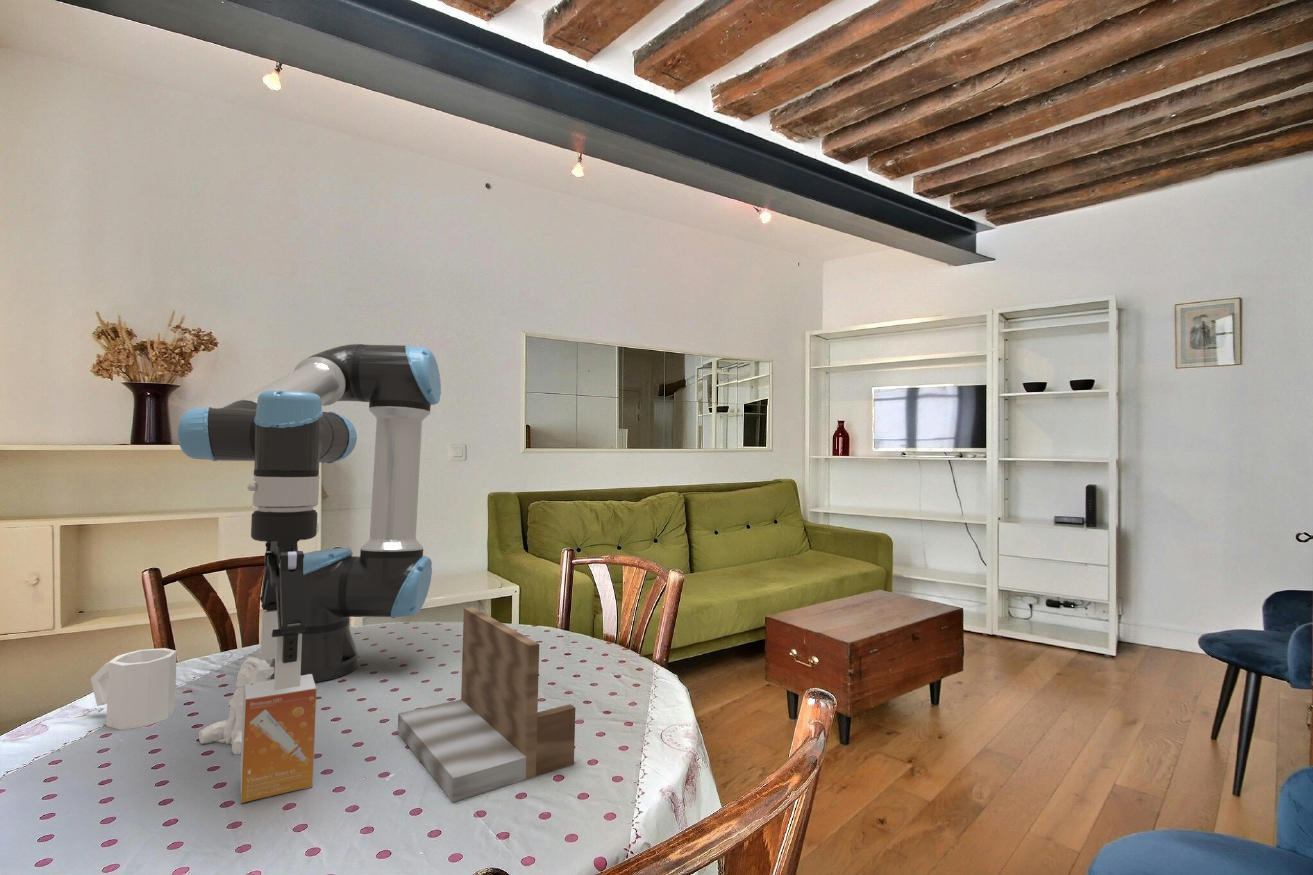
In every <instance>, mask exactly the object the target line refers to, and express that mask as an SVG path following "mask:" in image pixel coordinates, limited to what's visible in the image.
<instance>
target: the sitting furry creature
mask: <svg viewBox="0 0 1313 875" xmlns="http://www.w3.org/2000/svg"><path fill="white" fill-rule="evenodd" d="M273 673H274V667H271V663H268V662H267V660H261V659H260V658H258V657H257V656H255V657H253V656H249V657H247V658H246V659H245V660H244V661H243V662H242V664H241V665H240V668H239V670H238V671H237V677H236V684H235V687H236V689H235V691H234V693H233V696H232V698H231V699H230V700H229V702H228V705H229V710H230V711H229V716H228V718H227V719H224V720H221V721H217V722H213V723H211V724H208V726H206V727H204V728H202V729H201V730H199V732H198V738H199V739H198V740H199V742H200V744H201V745H205V744H207V745H208V744H211V743H215V742H216V743H222V744H226V745H229V744H230V745H231V751H232V753H233V754H234V755H235V756H236V755H241V738H242V716H243V692H244V684H248V683H255V682H262V681H268V679H269V678H271V675H272V674H273Z"/></svg>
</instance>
